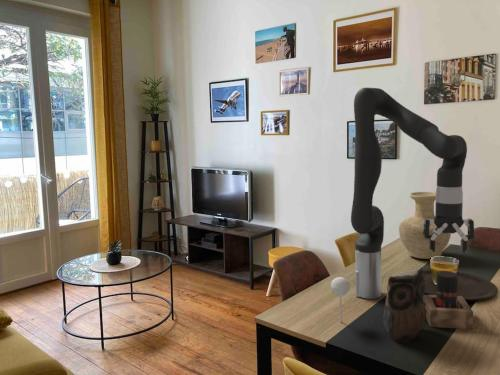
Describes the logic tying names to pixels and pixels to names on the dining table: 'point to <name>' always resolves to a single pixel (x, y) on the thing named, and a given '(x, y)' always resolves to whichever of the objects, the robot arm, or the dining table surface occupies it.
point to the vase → (414, 228)
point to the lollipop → (340, 288)
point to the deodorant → (446, 289)
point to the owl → (405, 305)
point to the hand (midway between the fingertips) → (447, 251)
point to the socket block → (448, 314)
